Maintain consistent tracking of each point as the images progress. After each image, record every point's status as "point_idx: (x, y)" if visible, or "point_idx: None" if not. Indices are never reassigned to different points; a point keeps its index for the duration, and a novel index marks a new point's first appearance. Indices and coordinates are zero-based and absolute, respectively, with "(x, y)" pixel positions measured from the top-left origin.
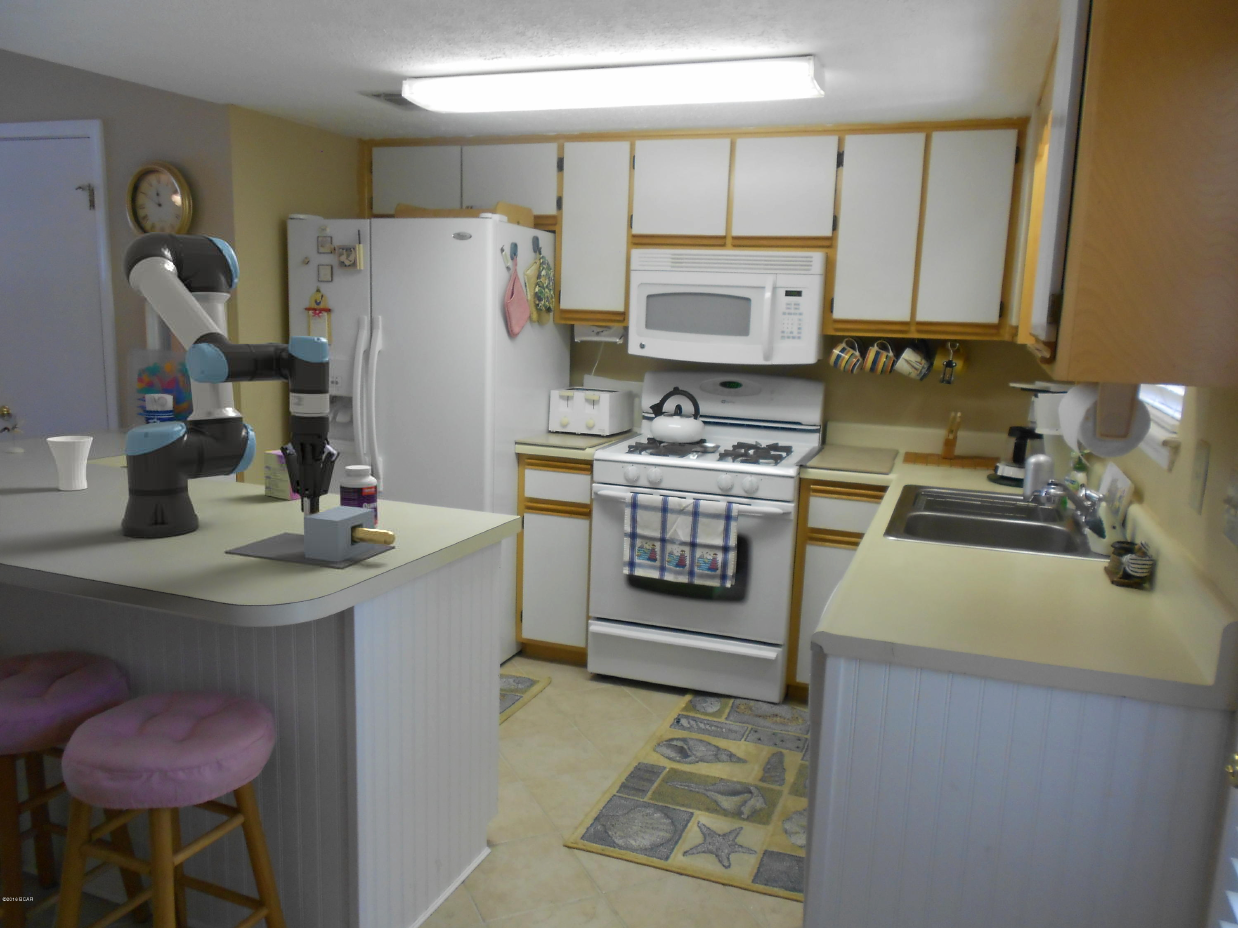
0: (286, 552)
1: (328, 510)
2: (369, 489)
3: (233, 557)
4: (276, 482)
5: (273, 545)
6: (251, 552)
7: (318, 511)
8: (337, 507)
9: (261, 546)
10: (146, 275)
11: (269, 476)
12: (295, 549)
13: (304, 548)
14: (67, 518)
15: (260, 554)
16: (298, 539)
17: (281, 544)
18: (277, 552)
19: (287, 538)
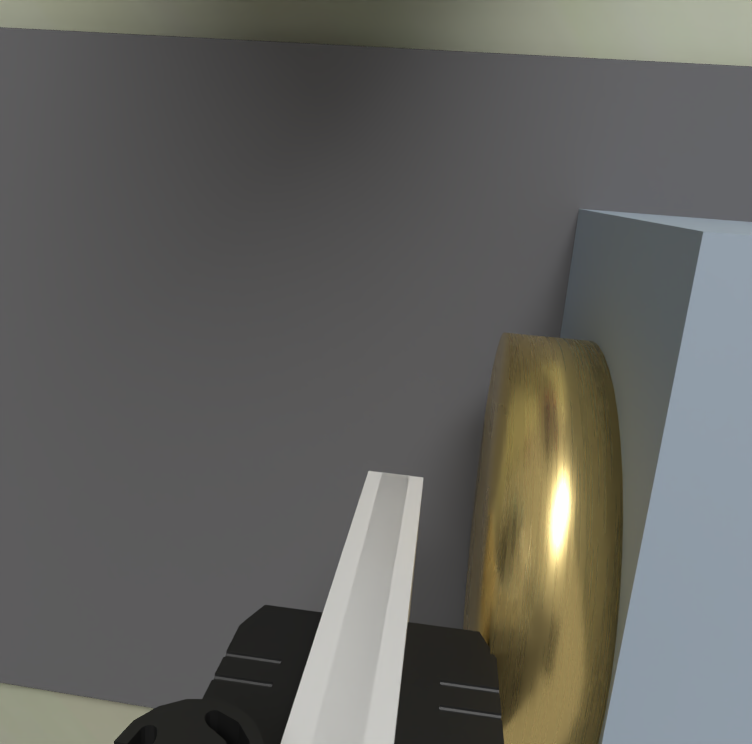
0: (306, 598)
1: (667, 663)
2: None
3: (65, 737)
4: None
5: (88, 455)
6: (94, 655)
7: (524, 716)
8: (701, 405)
9: (37, 507)
10: None
11: None
12: (312, 507)
13: (357, 460)
14: None
15: (181, 683)
16: (125, 215)
17: (118, 409)
18: (249, 614)
19: (22, 217)
